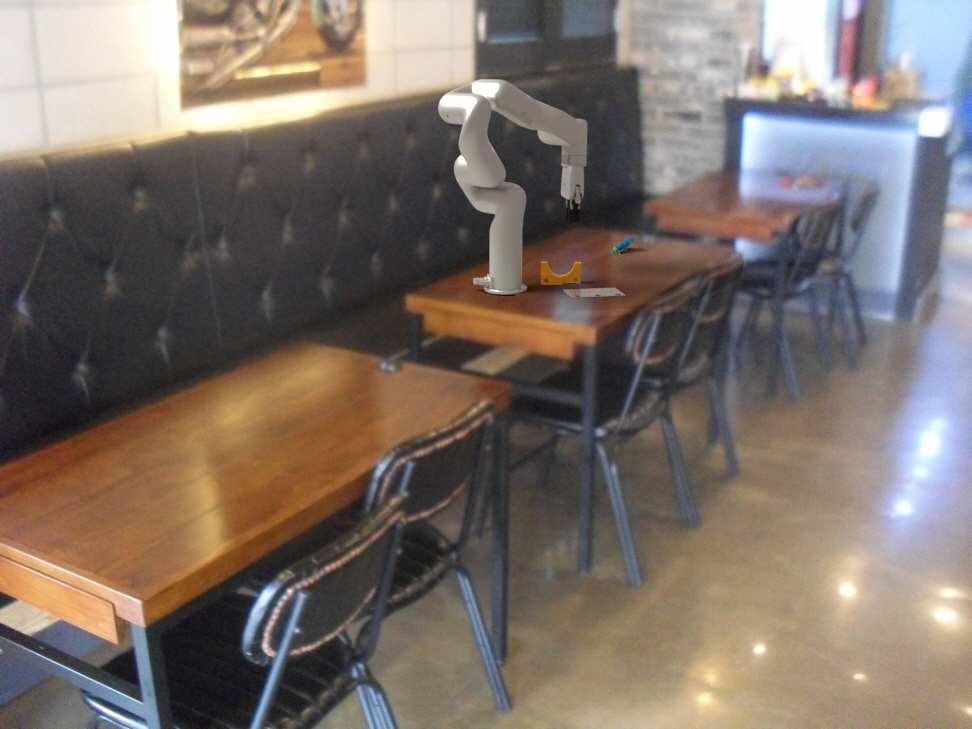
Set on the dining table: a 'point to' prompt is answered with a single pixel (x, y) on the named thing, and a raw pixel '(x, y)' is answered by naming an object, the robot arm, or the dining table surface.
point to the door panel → (593, 292)
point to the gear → (622, 246)
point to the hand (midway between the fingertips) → (572, 220)
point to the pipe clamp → (559, 279)
